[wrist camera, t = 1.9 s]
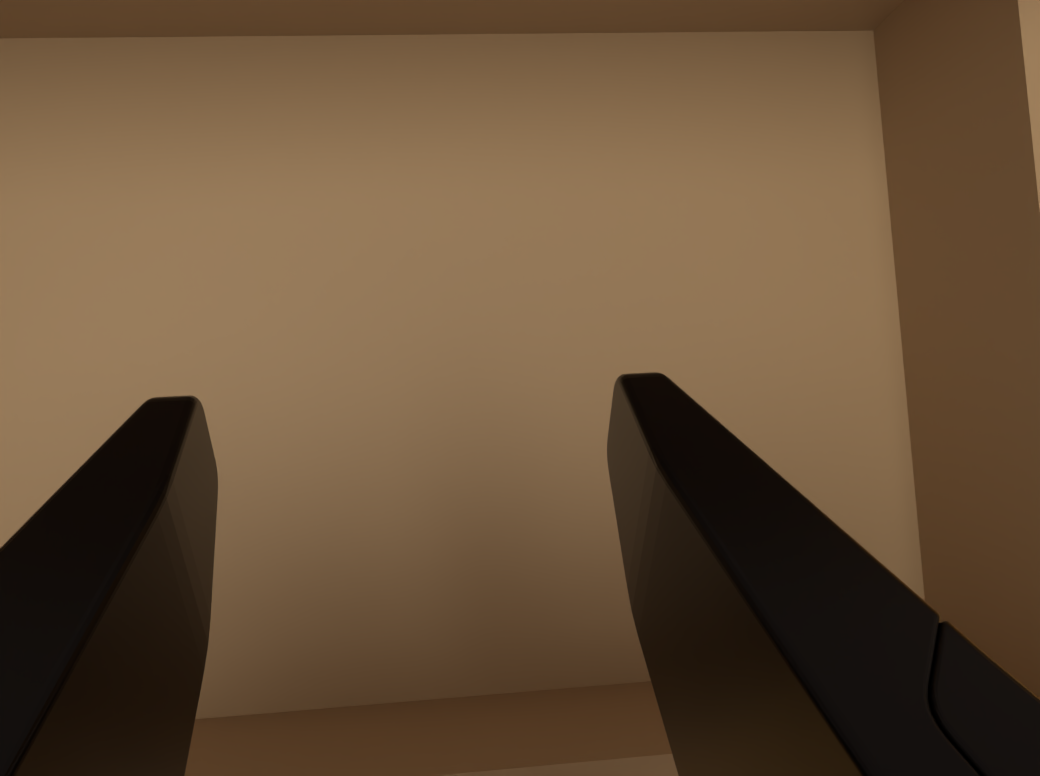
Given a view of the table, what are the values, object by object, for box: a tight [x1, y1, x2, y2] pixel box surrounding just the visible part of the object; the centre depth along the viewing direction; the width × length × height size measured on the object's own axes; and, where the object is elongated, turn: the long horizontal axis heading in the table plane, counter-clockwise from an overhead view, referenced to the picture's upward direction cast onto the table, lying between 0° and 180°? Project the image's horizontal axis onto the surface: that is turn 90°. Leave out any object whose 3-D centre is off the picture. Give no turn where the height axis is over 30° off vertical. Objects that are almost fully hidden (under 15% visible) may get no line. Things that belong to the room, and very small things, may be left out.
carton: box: [0, 0, 1040, 776], centre depth 19 cm, size 16×24×6 cm, turn 93°
